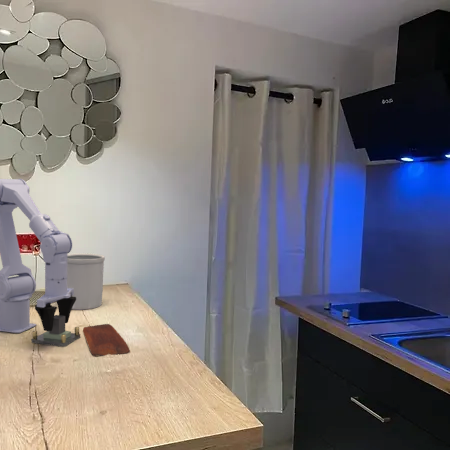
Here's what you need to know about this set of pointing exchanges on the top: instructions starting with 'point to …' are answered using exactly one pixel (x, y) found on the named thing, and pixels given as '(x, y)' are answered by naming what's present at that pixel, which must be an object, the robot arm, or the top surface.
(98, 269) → the utensil holder
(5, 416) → the top surface
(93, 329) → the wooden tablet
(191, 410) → the top surface
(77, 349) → the top surface
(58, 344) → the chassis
